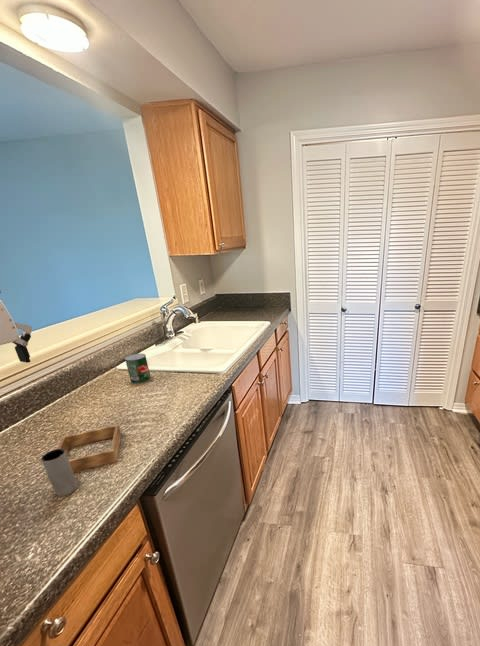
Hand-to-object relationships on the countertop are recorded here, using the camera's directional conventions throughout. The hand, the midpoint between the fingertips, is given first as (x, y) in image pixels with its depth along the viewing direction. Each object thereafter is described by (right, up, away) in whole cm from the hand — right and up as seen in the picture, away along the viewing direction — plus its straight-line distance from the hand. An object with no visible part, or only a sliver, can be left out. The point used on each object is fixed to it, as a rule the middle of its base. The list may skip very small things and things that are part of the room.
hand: (3, 369), depth 77 cm
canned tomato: (+3, -5, +62) cm, 62 cm away
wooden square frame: (+11, -24, +15) cm, 30 cm away
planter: (+14, -29, +2) cm, 33 cm away
